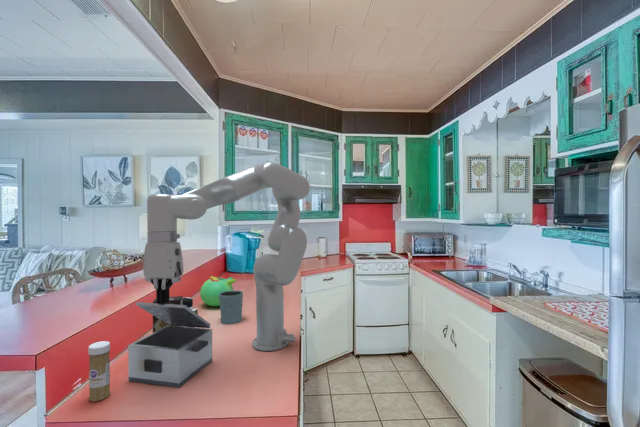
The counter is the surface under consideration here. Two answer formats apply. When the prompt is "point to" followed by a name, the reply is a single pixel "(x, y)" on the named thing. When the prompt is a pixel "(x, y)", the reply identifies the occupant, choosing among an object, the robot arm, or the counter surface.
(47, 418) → the counter surface
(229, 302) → the grey cup
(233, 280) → the green teapot
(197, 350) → the cooker
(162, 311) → the lid
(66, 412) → the counter surface
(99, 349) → the sprinkles bottle
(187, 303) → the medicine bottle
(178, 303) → the coffee box
